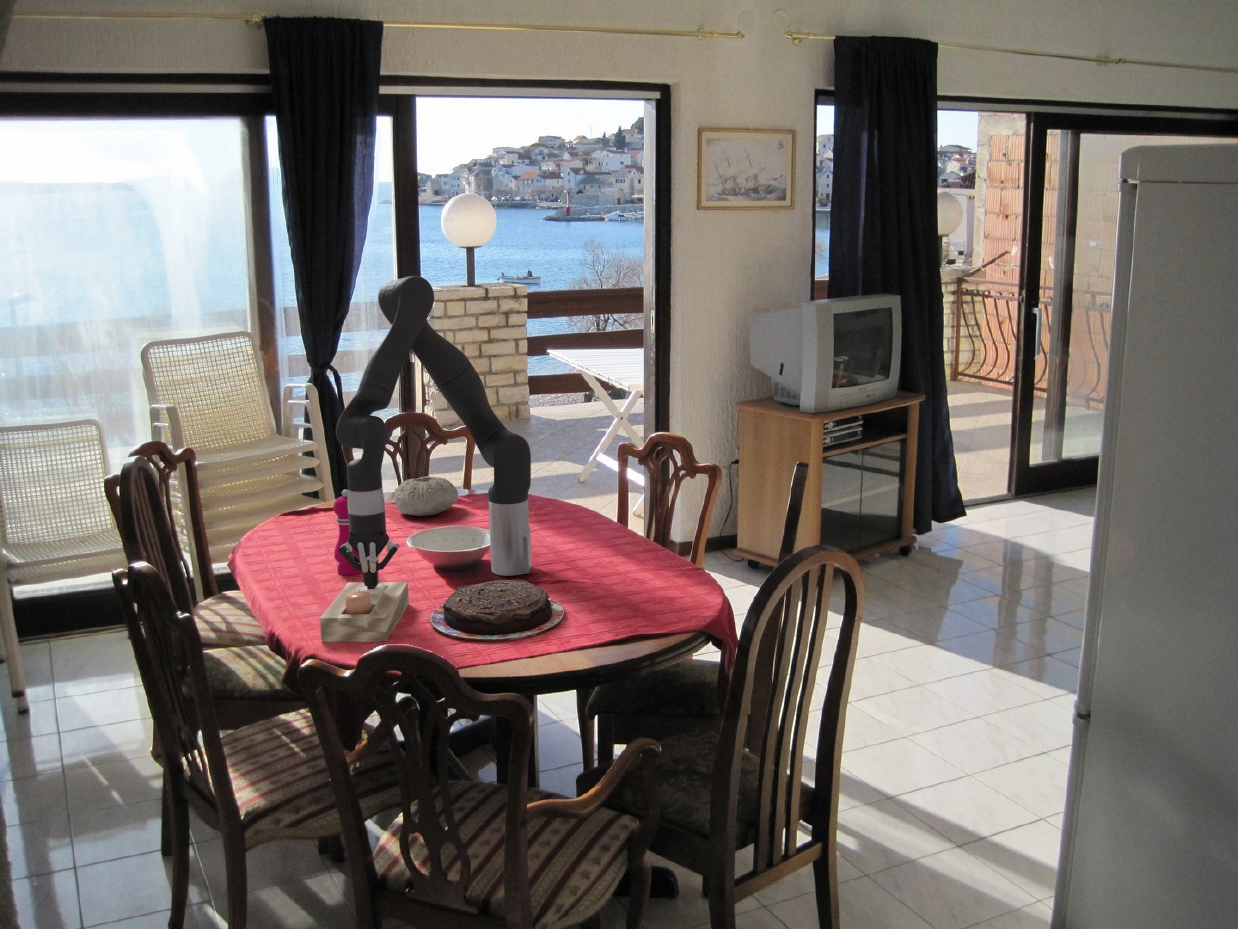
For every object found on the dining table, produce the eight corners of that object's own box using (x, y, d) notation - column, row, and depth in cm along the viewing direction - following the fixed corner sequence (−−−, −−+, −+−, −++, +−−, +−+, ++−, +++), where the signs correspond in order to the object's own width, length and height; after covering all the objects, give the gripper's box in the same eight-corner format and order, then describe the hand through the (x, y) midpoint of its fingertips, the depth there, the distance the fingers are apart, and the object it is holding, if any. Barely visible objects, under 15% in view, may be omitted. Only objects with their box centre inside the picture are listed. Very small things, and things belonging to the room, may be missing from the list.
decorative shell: (397, 506, 336) (395, 472, 334) (459, 503, 338) (458, 469, 336) (392, 522, 319) (390, 487, 316) (458, 519, 321) (456, 484, 318)
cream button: (387, 599, 251) (386, 584, 250) (382, 607, 246) (381, 591, 245) (364, 599, 251) (363, 584, 251) (358, 607, 246) (357, 591, 246)
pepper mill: (359, 577, 273) (353, 494, 268) (330, 575, 274) (324, 493, 270) (371, 567, 280) (366, 486, 275) (343, 566, 281) (337, 485, 277)
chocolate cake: (451, 654, 227) (449, 622, 225) (415, 609, 251) (413, 580, 250) (585, 631, 238) (584, 600, 236) (537, 590, 262) (536, 562, 261)
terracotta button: (373, 607, 239) (372, 591, 238) (367, 615, 234) (366, 599, 233) (349, 607, 239) (348, 591, 238) (343, 615, 234) (342, 599, 233)
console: (409, 604, 254) (407, 582, 253) (386, 641, 232) (384, 617, 231) (349, 604, 254) (348, 582, 253) (321, 642, 233) (319, 618, 232)
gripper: (401, 504, 248) (406, 582, 251) (339, 504, 248) (345, 582, 252) (394, 513, 240) (398, 593, 244) (330, 514, 241) (336, 594, 245)
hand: (371, 587), depth 248 cm, fingers closed
